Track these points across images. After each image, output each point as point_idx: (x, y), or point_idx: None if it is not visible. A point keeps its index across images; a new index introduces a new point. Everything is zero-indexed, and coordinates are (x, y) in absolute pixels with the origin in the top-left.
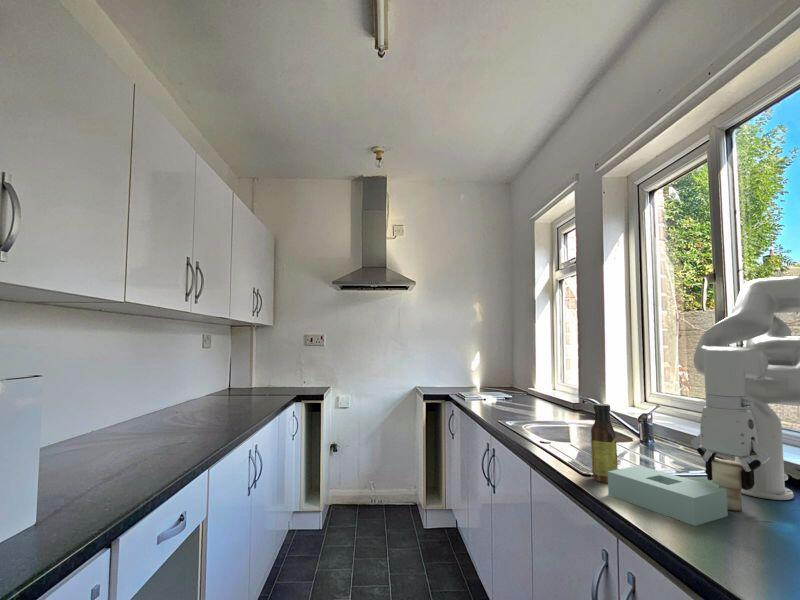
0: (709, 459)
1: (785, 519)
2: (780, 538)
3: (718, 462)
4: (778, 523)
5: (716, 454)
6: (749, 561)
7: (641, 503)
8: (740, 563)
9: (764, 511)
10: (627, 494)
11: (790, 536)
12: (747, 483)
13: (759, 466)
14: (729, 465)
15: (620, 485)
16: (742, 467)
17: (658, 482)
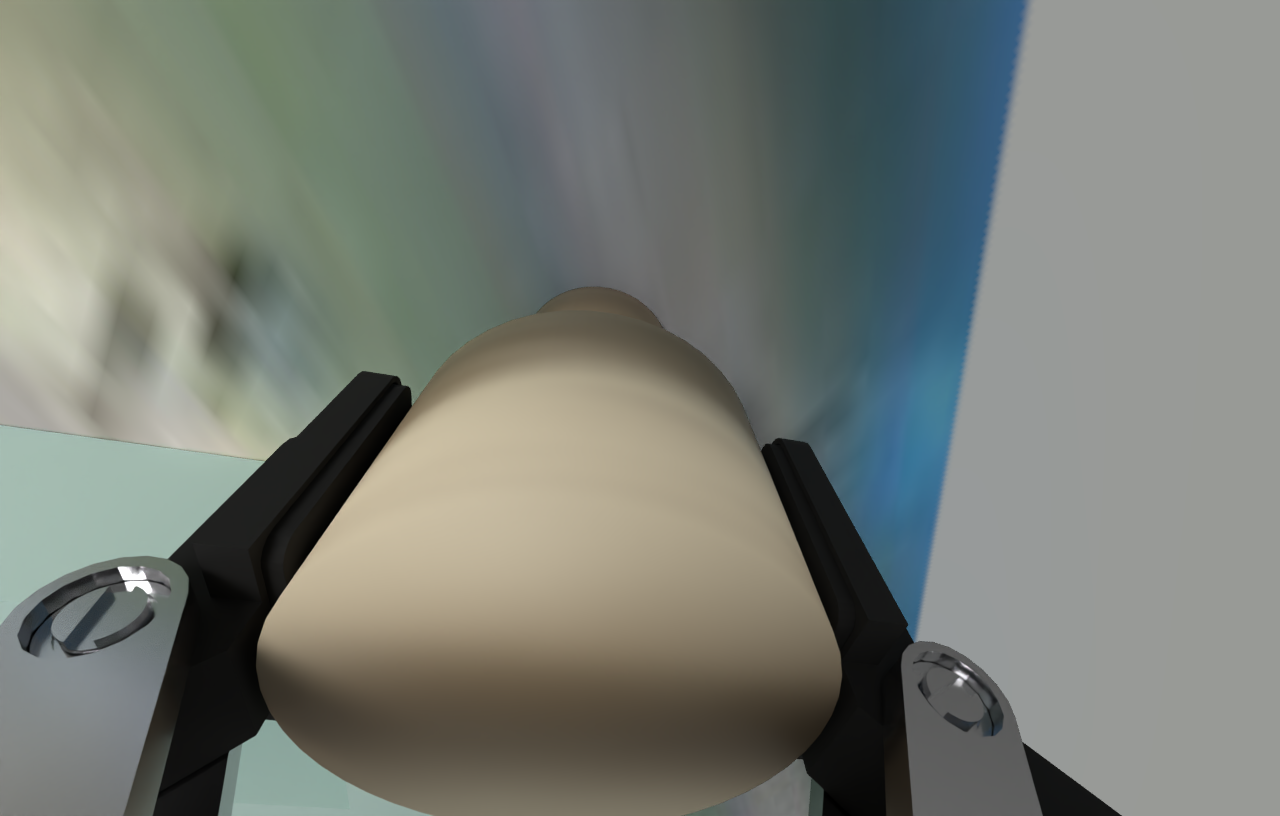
0: (231, 742)
1: (932, 278)
2: None
3: (426, 758)
4: (881, 406)
5: (149, 740)
6: (787, 795)
7: None
8: (769, 813)
9: (799, 196)
10: None
11: (920, 549)
12: None
13: (1071, 782)
14: (615, 784)
15: None
16: (788, 757)
17: (281, 810)
